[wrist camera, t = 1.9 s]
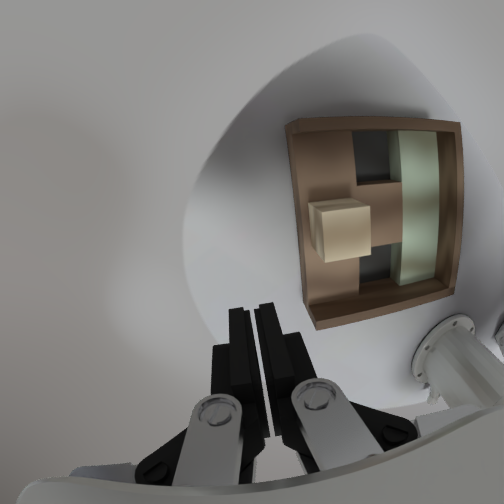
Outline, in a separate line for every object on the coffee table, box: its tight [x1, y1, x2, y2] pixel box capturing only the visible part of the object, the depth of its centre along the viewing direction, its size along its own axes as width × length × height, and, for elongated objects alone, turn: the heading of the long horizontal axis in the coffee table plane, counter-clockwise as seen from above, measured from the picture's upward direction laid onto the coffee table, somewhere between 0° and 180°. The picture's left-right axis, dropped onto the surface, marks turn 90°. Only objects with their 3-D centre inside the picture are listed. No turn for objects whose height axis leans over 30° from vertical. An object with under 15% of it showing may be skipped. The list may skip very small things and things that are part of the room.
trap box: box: [285, 116, 464, 331], centre depth 25 cm, size 18×16×6 cm
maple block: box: [308, 198, 371, 263], centre depth 23 cm, size 4×4×4 cm
